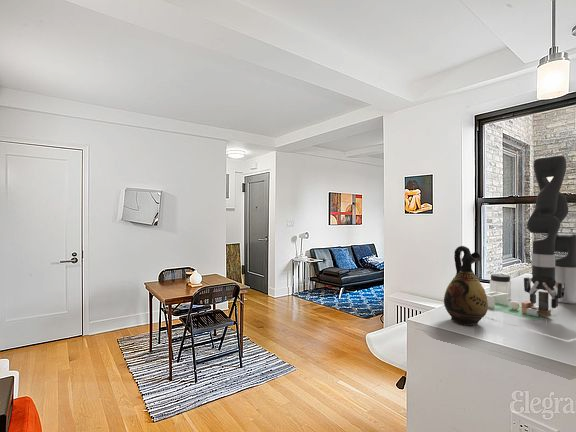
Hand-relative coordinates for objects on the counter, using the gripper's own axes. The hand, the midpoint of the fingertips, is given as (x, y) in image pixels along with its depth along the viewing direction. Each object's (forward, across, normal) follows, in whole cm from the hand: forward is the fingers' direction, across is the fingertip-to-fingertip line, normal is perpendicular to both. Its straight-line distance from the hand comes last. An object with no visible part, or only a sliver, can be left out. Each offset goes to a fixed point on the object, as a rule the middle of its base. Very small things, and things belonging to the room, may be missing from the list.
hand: (543, 305), depth 133 cm
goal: (+5, +20, 0) cm, 21 cm away
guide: (+5, +2, 0) cm, 5 cm away
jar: (+6, +27, -15) cm, 31 cm away
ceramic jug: (+6, +11, +33) cm, 35 cm away
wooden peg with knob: (+5, +2, 0) cm, 5 cm away
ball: (+3, +12, 0) cm, 12 cm away
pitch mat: (+5, +12, 0) cm, 13 cm away
